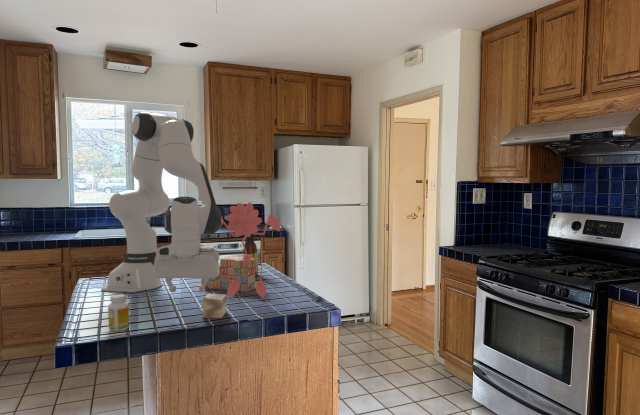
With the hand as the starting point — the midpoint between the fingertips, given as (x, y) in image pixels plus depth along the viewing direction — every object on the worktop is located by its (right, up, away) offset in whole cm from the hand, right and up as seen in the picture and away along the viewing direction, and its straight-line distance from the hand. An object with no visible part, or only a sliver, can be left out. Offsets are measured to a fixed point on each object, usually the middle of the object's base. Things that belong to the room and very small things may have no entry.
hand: (187, 291), depth 142 cm
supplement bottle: (-16, -9, -12) cm, 22 cm away
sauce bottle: (+11, -4, +57) cm, 58 cm away
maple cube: (+9, -2, 0) cm, 9 cm away
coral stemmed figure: (+15, -7, +17) cm, 24 cm away
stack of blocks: (+6, -6, +36) cm, 36 cm away
